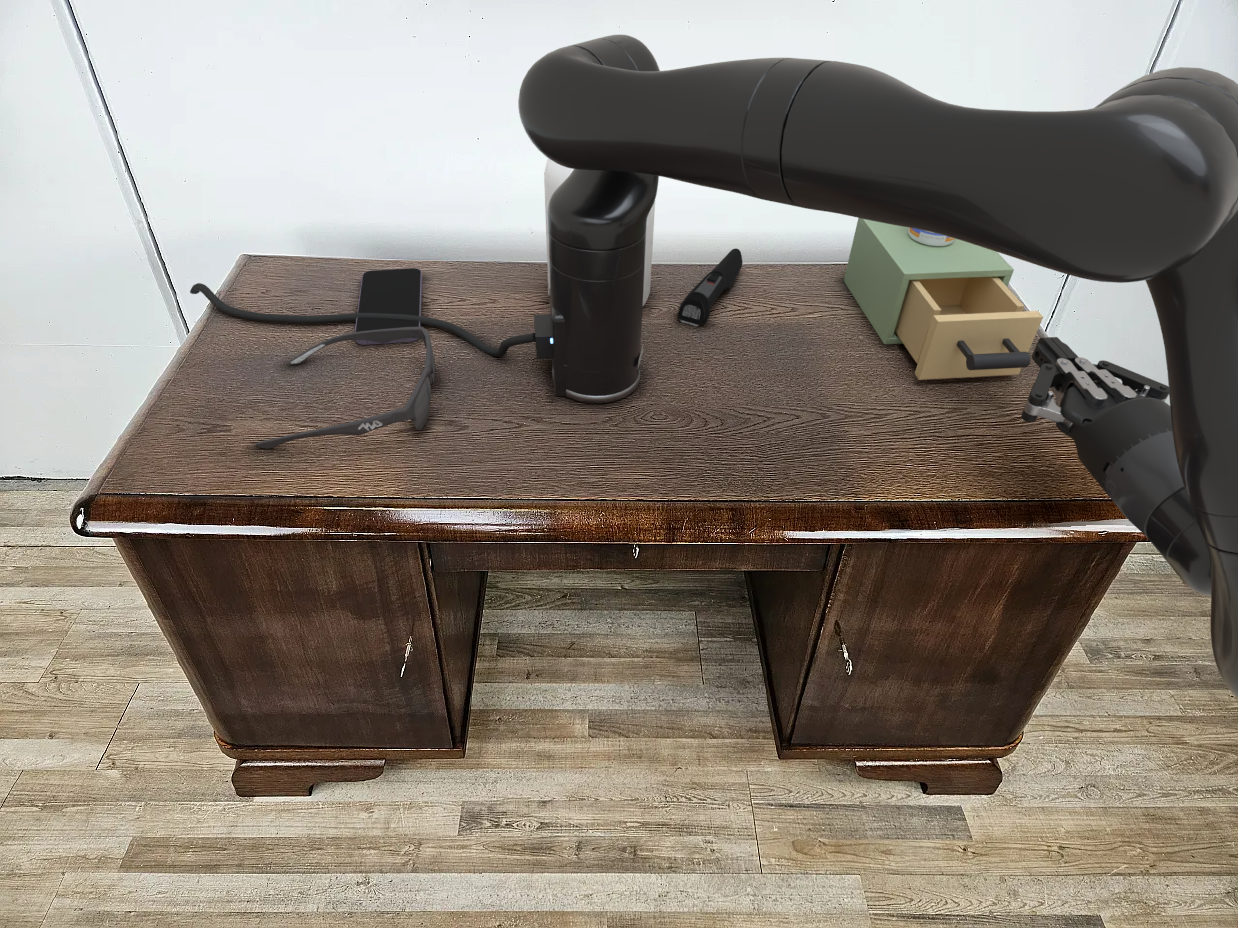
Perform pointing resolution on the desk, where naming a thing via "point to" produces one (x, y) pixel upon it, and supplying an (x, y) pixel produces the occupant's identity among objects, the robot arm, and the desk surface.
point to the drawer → (965, 328)
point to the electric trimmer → (710, 289)
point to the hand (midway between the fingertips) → (1043, 345)
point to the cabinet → (907, 269)
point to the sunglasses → (412, 410)
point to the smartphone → (389, 300)
